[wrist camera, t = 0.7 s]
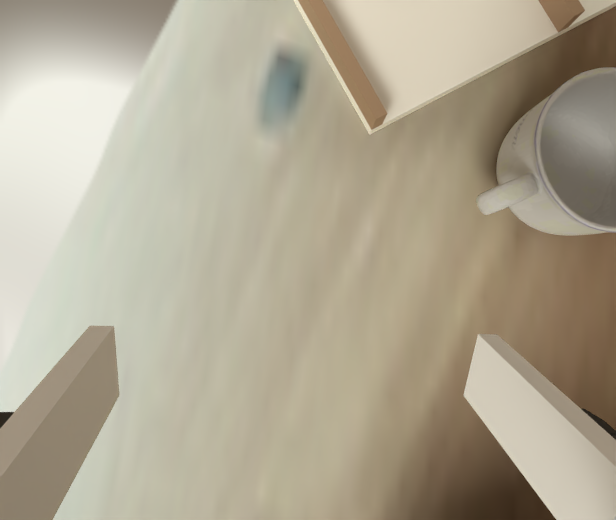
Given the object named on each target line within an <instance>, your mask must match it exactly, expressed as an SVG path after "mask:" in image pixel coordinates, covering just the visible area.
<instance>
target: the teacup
mask: <svg viewBox="0 0 616 520" xmlns="http://www.w3.org/2000/svg"><path fill="white" fill-rule="evenodd" d="M496 173H497V182H498V186H497V187H494V188H492V189H490V190H488V191H486V192H483V193H482V194H480V195H478V197H477V199H476V202H477V205H478V207H479V209H480V211H481V212H482V213H483V214H484V215H488V214H491V213H494V212H497V211H500V210H502V209H505V208H507V207H509V208H510V210H511V211H512V212H513V213H514V214H515V215H516V216H517V217H518V218H519V219H520V220H521V221H523V222H524V223H525V224H527V225H528V226H530V227H532V228H534V229H537V230H539V231H542V232H546V233H549V234H555V235H568V236H569V235H587V234H598V233H605V232H616V68H615V67H604V68H596V69H593V70H589V71H585V72H582V73H580V74H578V75H576V76H574V77H572V78H571V79H569V80H568V81H566V82H565V83H563V84H562V85H561V86H560V87H559V88H558V89H557V90H556V91H555V92H554V93H552V94H551V95H550V96H548V97H547V98H545V99H544V100H543V101H541V102H540V103H538V104H537V105H536V106H535V107H533V108H532V109H531V110H530V111H528V112H527V113H526V114H525V115H524V116H522V117H521V118H520V119H519V120H518V121H517V122H516V123H515V124H514V126H513V127H512V128H511V129H510V131H509V132H508V134H507V135H506V137H505V139H504V140H503V142H502V145H501V147H500V150H499V154H498V158H497V166H496Z"/></svg>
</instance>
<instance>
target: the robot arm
mask: <svg viewBox="0 0 616 520" xmlns="http://www.w3.org/2000/svg"><path fill="white" fill-rule="evenodd" d="M118 397H119V385H118V372H117V359H116V346H115V333H114V326H89V327H88V329H87V330H86V331H85V332H84V333H83V334H82V335H81V337H80V338H79V339H78V340H77V341H76V342H75V343H74V345H73V346H72V347H71V348H70V349H69V350H68V351H67V353H66V354H65V355H64V356H63V357H62V358H61V359H60V361H59V362H58V363H57V364H56V365H55V366H54V368H53V369H52V370H51V371H50V372H49V373H48V374H47V376H46V377H45V378H44V379H43V380H42V381H41V382H40V384H39V385H38V386H37V387H36V388H35V389H34V390H33V392H32V393H31V394H30V395H29V396H28V397H27V398H26V400H25V401H24V402H23V403H22V404H21V405H20V406H19V408H18V409H17V410H16V411H15V412H0V520H52V519H53V518H54V516H55V514H56V512H57V510H58V508H59V506H60V505H61V503H62V501H63V499H64V497H65V495H66V493H67V492H68V490H69V488H70V486H71V484H72V482H73V480H74V479H75V477H76V475H77V473H78V471H79V469H80V467H81V465H82V464H83V462H84V460H85V458H86V456H87V454H88V452H89V451H90V449H91V447H92V445H93V443H94V441H95V439H96V438H97V436H98V434H99V432H100V430H101V428H102V426H103V425H104V423H105V421H106V419H107V417H108V415H109V413H110V412H111V410H112V408H113V406H114V404H115V402H116V400H117V398H118ZM464 397H465V398H466V399H467V401H468V402H469V403H470V405H471V406H472V407H473V409H474V410H475V411H476V413H477V414H478V415H479V417H480V418H481V419H482V421H483V422H484V423H485V425H486V426H487V427H488V429H489V430H490V431H491V433H492V434H493V435H494V437H495V438H496V439H497V441H498V442H499V443H500V445H501V446H502V448H503V449H504V450H505V452H506V453H507V454H508V456H509V457H510V458H511V460H512V461H513V462H514V464H515V465H516V466H517V468H518V469H519V470H520V472H521V473H522V474H523V476H524V477H525V478H526V480H527V481H528V482H529V484H530V485H531V486H532V488H533V489H534V490H535V492H536V493H537V494H538V496H539V497H540V498H541V500H542V501H543V502H544V504H545V505H546V507H547V508H548V509H549V511H550V512H551V513H552V515H553V516H554V517H555V519H556V520H616V431H615V430H614V429H613V428H612V427H610V426H609V425H608V424H607V423H606V422H605V421H603V420H602V419H600V418H599V417H597V416H595V415H594V414H592V413H590V412H589V411H587V410H585V409H580V408H579V407H578V406H577V405H576V404H575V403H574V402H573V401H571V400H570V399H569V398H568V397H567V396H566V395H565V394H564V393H562V392H561V391H560V390H559V389H558V388H557V387H556V386H554V385H553V384H552V383H551V382H550V381H549V380H548V379H547V378H545V377H544V376H543V375H542V374H541V373H540V372H539V371H538V370H536V369H535V368H534V367H533V366H532V365H531V364H530V363H529V362H527V361H526V360H525V359H524V358H523V357H522V356H521V355H520V354H518V353H517V352H516V351H515V350H514V349H513V348H512V347H511V346H509V345H508V344H507V343H506V342H505V341H504V340H503V339H502V338H500V337H499V336H498V335H497V334H478V337H477V341H476V345H475V349H474V354H473V358H472V362H471V366H470V370H469V375H468V379H467V383H466V387H465V391H464Z"/></svg>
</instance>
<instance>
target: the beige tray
mask: <svg viewBox="0 0 616 520" xmlns="http://www.w3.org/2000/svg"><path fill="white" fill-rule="evenodd" d="M293 1H294V3H295V4H296V6H297V8H298V10H299V11H300V13H301V15H302V17H303V18H304V20H305V22H306V24H307V25H308V27H309V29H310V31H311V32H312V34H313V36H314V38H315V40H316V41H317V43H318V45H319V47H320V48H321V50H322V52H323V54H324V55H325V57H326V59H327V61H328V62H329V64H330V66H331V68H332V70H333V71H334V73H335V75H336V77H337V78H338V80H339V82H340V84H341V85H342V87H343V89H344V91H345V92H346V94H347V96H348V98H349V100H350V101H351V103H352V105H353V107H354V108H355V110H356V112H357V114H358V115H359V117H360V119H361V121H362V122H363V124H364V126H365V128H366V130H367V131H368V133H369V135H370V134H372V133H374V132H376V131H378V130H380V129H382V128H383V127H385V126H387V125H389V124H391V123H393V122H395V121H397V120H399V119H401V118H403V117H405V116H406V115H408V114H410V113H412V112H414V111H416V110H418V109H420V108H422V107H424V106H426V105H427V104H429V103H431V102H433V101H435V100H437V99H439V98H441V97H443V96H445V95H447V94H449V93H450V92H452V91H454V90H456V89H458V88H460V87H462V86H464V85H466V84H468V83H470V82H472V81H473V80H475V79H477V78H479V77H481V76H483V75H485V74H487V73H489V72H491V71H493V70H494V69H496V68H498V67H500V66H502V65H504V64H506V63H508V62H510V61H512V60H514V59H516V58H517V57H519V56H521V55H523V54H525V53H527V52H529V51H531V50H533V49H535V48H537V47H539V46H540V45H542V44H544V43H546V42H548V41H550V40H552V39H554V38H556V37H558V36H560V35H561V34H563V33H565V32H567V31H569V30H571V29H573V28H575V27H577V26H579V25H581V24H583V23H584V22H586V21H588V20H590V19H592V18H594V17H596V16H598V15H600V14H602V13H604V12H606V11H607V10H609V9H611V8H613V7H615V6H616V0H293Z"/></svg>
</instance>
